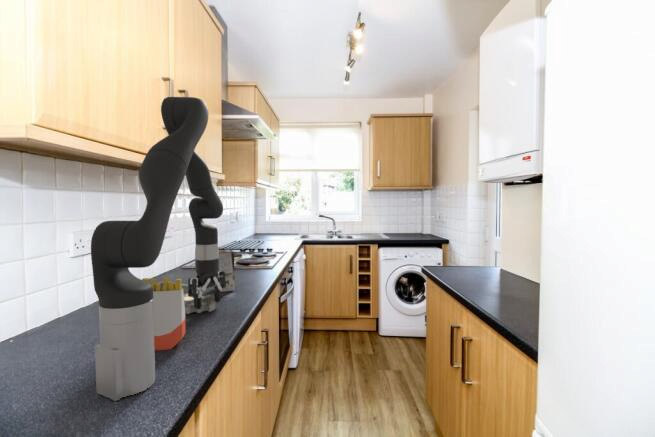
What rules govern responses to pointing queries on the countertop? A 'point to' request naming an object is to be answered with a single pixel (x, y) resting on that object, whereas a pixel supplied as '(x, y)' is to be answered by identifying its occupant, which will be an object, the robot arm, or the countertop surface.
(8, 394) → the countertop surface
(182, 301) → the french fries container
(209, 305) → the grey irregular chunky piece
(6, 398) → the countertop surface
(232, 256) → the coffee box
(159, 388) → the countertop surface
